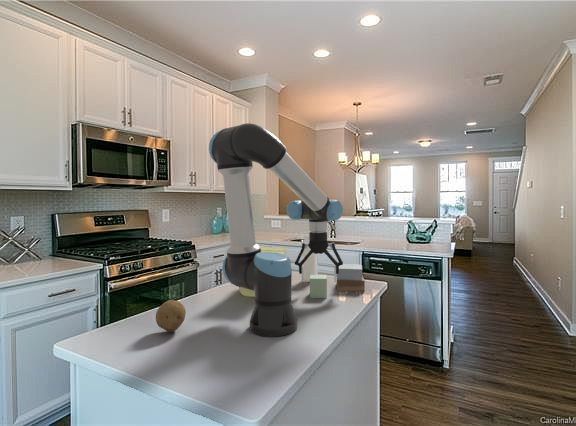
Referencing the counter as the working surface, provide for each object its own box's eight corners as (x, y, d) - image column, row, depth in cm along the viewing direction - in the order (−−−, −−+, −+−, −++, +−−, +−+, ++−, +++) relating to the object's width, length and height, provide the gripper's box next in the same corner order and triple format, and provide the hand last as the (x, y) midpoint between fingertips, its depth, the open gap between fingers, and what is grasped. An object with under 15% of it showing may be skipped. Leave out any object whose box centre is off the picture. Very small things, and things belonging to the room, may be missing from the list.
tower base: (364, 292, 151) (364, 280, 150) (337, 291, 152) (337, 280, 152) (362, 285, 163) (362, 274, 162) (336, 284, 164) (336, 274, 164)
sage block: (326, 298, 141) (326, 278, 141) (309, 297, 142) (309, 278, 142) (326, 293, 148) (326, 275, 148) (310, 292, 149) (310, 274, 149)
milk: (314, 282, 168) (314, 237, 167) (302, 281, 170) (302, 237, 169) (317, 279, 174) (317, 236, 172) (306, 278, 176) (305, 235, 175)
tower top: (362, 280, 151) (362, 269, 151) (337, 279, 153) (336, 268, 153) (361, 275, 162) (361, 264, 161) (338, 274, 164) (338, 263, 164)
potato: (184, 336, 102) (183, 304, 102) (152, 339, 101) (152, 306, 100) (187, 326, 111) (186, 295, 111) (158, 328, 110) (157, 297, 109)
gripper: (347, 230, 146) (348, 279, 147) (289, 230, 149) (290, 278, 151) (348, 232, 139) (349, 283, 140) (287, 232, 142) (288, 283, 143)
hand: (319, 281), depth 145 cm, fingers open, 13 cm apart
